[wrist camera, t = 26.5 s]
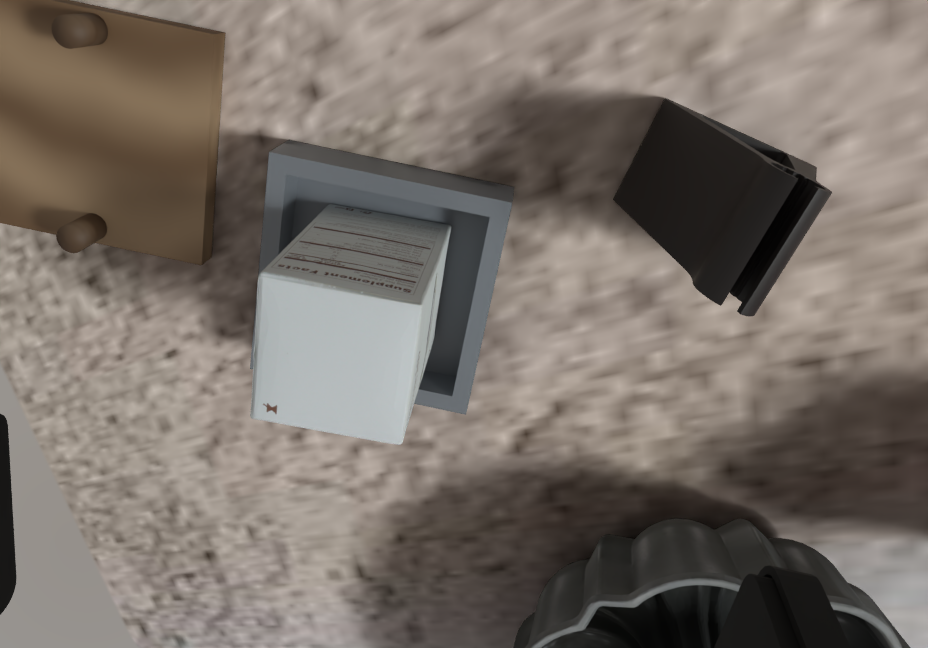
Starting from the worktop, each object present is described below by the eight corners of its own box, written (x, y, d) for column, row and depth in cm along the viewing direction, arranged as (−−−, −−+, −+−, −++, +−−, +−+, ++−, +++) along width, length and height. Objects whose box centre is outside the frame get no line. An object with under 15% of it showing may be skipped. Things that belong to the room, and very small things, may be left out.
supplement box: (436, 339, 48) (402, 453, 36) (315, 315, 48) (243, 422, 36) (456, 222, 45) (426, 305, 33) (327, 197, 45) (252, 272, 33)
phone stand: (612, 197, 44) (634, 268, 33) (664, 96, 42) (707, 136, 31) (754, 261, 45) (822, 351, 34) (814, 165, 43) (908, 229, 32)
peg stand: (-10, -17, 43) (-62, -16, 39) (225, 32, 43) (195, 37, 39) (2, 213, 48) (-43, 232, 44) (211, 257, 48) (184, 279, 44)
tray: (288, 139, 45) (269, 151, 41) (514, 187, 45) (512, 202, 41) (268, 344, 50) (250, 368, 47) (470, 386, 50) (465, 414, 47)
